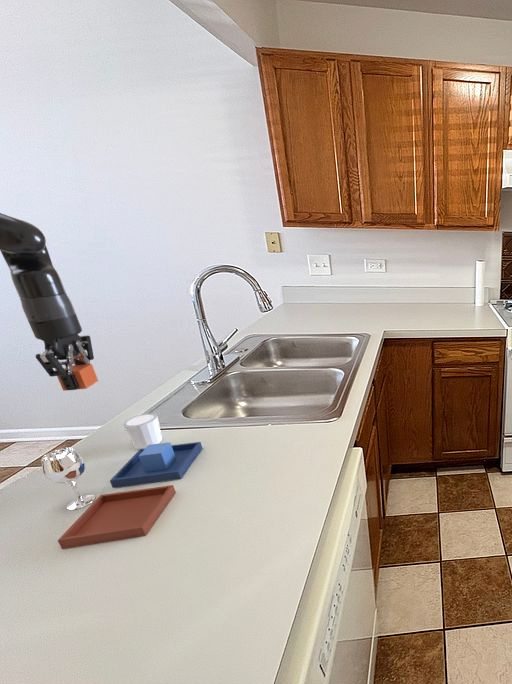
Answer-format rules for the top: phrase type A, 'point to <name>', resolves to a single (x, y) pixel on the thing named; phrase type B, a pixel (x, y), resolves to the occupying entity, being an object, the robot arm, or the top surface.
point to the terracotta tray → (118, 516)
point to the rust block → (82, 376)
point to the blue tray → (136, 475)
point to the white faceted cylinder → (143, 430)
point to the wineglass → (66, 473)
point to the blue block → (157, 457)
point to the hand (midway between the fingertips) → (80, 384)
